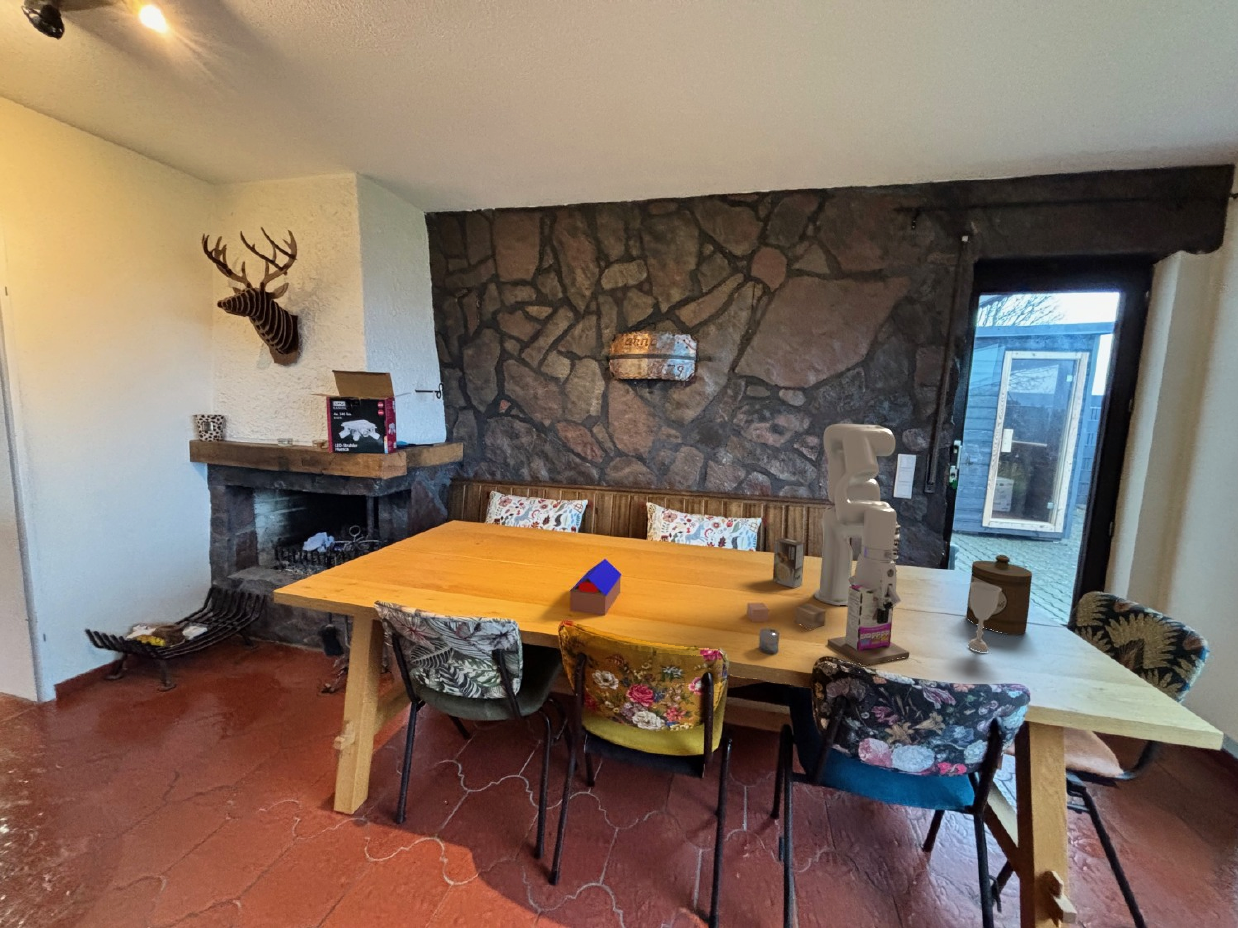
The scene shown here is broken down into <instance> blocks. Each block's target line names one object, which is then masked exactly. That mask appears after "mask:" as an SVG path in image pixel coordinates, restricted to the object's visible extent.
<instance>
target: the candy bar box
mask: <svg viewBox="0 0 1238 928" xmlns="http://www.w3.org/2000/svg"><path fill="white" fill-rule="evenodd" d="M889 598H890V597H889ZM883 601H884V604H886V603H885V599H884V600H883ZM890 601H891V598H890ZM878 609H880V605H879V602H878V598H876V597H874V596H873V592H872V591H871V590H869V589H867V588H865V587H862V586H860V585H857V586H851V585H850V586H849V597H848V605H847V611H846V612H847V613H846V626H845V636H846V639H845V643H846V644H847V645H849V646H850V647H852V648H854V649H855V650H857V651H862V650H869V649H875V648H880V647H886V646H890V642H891V638H892V636H891V635H892V625H893V613H894V612H893V611H894V607H893V608H892V609H889V617H888V623H884V624H878V623H877V614H878Z"/></svg>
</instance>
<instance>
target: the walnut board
mask: <svg viewBox="0 0 1238 928" xmlns="http://www.w3.org/2000/svg"><path fill="white" fill-rule="evenodd" d="M845 639H846V635H845V636H839V637H833V638H828V639H827V645H828V646H829V647H831V648H833V649H834V650H836V651H837V652H839V653H840V654H842V655H843V656H845V657H847V658H848V659H849V658H850V659H849V660H851V659H852V660H851V661H853V660H854V661H855V662H854V661H853V662H854V663H856V664H857V663H860V664H861V665H867V664H872V665H875V664H874V663H877V664H879V663H878V662H882V663H885V662H884V661H888V660H892V659H897V658H902V657H910V651H908V650H906V649H905V648H903V647H901V646H899V645H897V644H896V643H895V642H892V641H890V646H886V647H880V648H875V649H869V650H862V651H857V650H855V649H854V648H852V647H850V646H849V645H847V644H846V643H845ZM888 662H889V661H888ZM867 666H868V665H867Z"/></svg>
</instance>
